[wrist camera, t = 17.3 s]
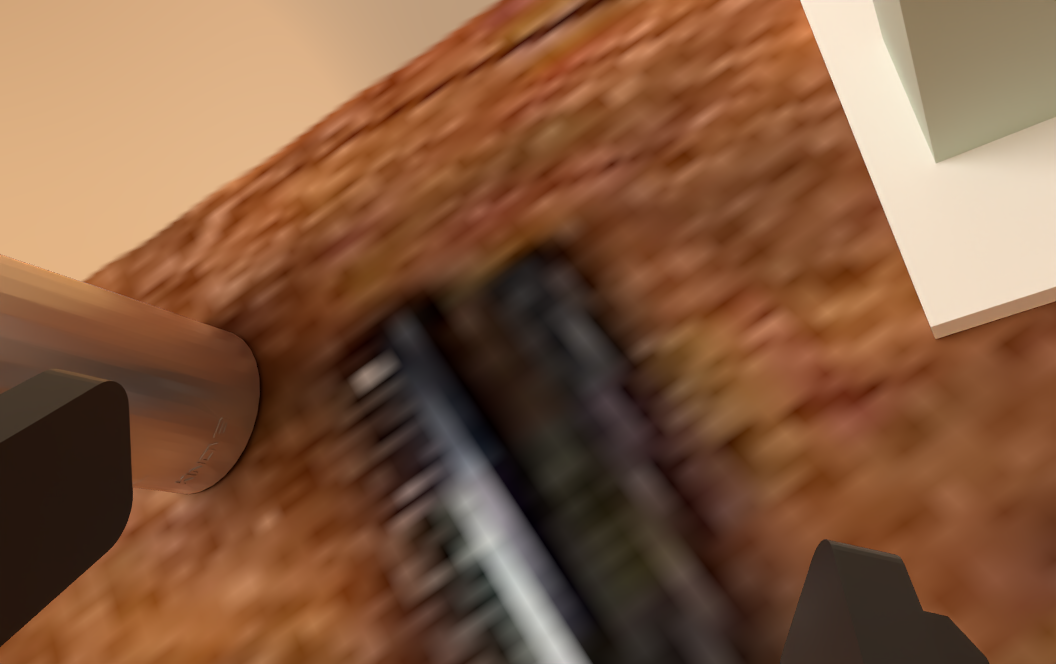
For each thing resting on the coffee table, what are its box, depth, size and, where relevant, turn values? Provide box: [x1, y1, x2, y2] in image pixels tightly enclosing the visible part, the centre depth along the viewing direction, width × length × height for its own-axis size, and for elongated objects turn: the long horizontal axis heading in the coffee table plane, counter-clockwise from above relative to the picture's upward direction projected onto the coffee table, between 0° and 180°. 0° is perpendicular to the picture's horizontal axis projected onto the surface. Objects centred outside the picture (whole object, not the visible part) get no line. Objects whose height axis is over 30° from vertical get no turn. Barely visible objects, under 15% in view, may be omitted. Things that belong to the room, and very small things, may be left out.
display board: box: [800, 0, 1056, 339], centre depth 28 cm, size 10×16×4 cm, turn 11°
